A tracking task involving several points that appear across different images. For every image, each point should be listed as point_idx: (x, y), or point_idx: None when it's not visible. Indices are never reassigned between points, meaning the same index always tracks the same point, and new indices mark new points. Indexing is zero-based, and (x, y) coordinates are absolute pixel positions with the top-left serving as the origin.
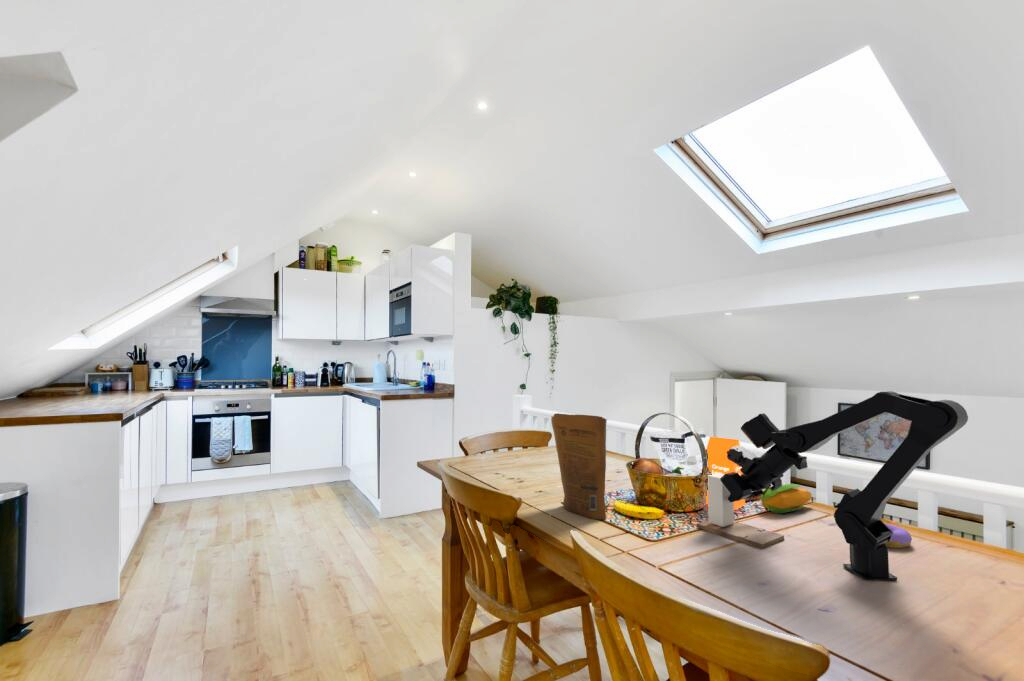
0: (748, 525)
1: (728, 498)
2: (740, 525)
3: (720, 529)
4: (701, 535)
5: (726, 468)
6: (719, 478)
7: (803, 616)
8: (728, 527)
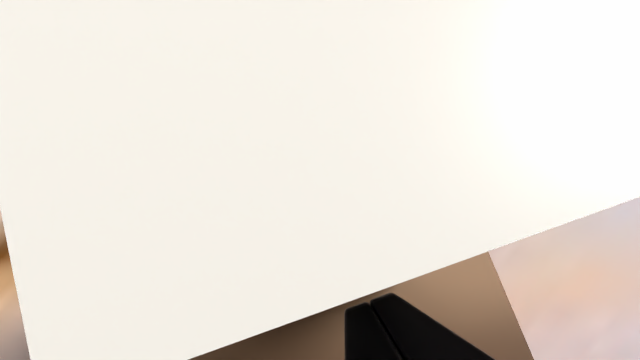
0: (510, 332)
1: (345, 326)
2: (442, 313)
3: (201, 355)
4: (22, 347)
5: None
6: (19, 279)
7: None
8: (305, 330)
